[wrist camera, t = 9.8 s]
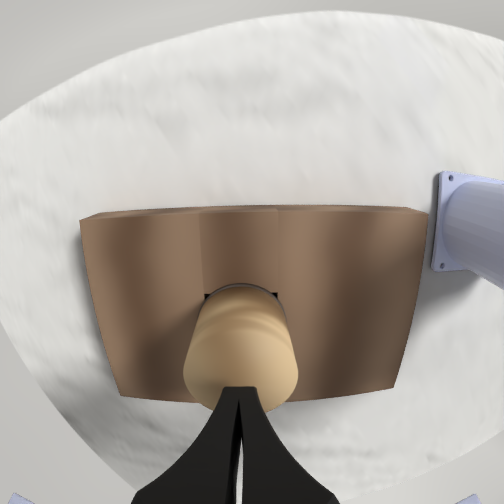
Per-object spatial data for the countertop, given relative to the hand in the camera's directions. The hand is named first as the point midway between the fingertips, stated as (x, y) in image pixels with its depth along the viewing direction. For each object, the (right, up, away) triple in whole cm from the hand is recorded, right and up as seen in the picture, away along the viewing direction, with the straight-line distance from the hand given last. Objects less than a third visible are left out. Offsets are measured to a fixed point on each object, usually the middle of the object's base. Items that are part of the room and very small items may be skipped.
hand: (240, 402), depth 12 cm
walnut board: (+1, +3, +9) cm, 10 cm away
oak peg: (0, +3, +9) cm, 10 cm away
